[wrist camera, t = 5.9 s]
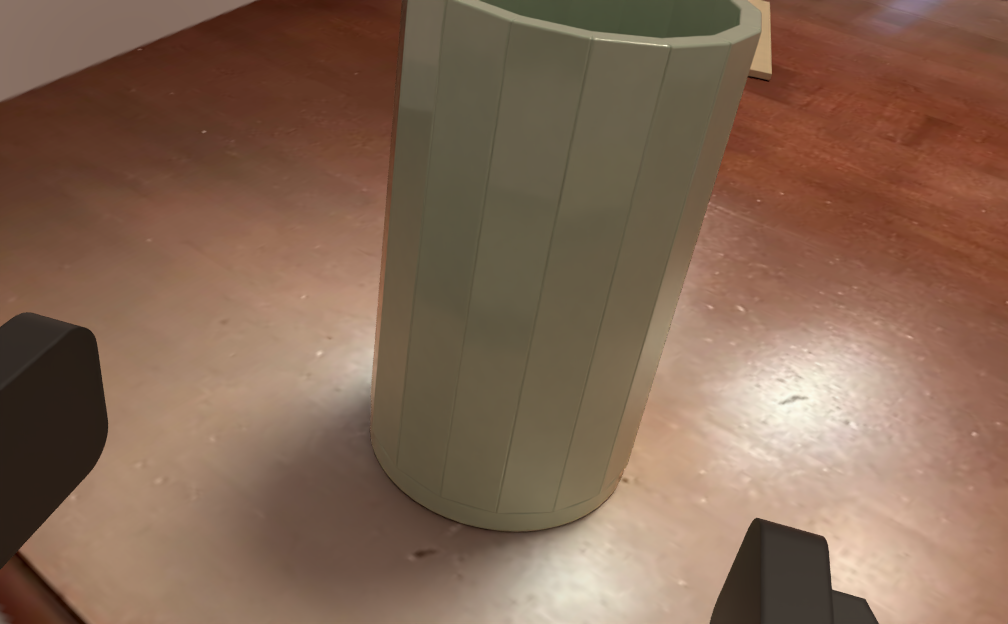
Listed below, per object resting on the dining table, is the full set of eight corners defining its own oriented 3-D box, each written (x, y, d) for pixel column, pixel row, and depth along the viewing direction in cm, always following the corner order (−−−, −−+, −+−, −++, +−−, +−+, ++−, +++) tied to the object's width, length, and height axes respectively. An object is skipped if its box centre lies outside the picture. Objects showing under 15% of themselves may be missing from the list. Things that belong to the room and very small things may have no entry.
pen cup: (327, 485, 20) (351, -16, 14) (417, 330, 25) (464, -83, 19) (605, 566, 19) (762, 76, 13) (639, 390, 25) (762, -21, 18)
